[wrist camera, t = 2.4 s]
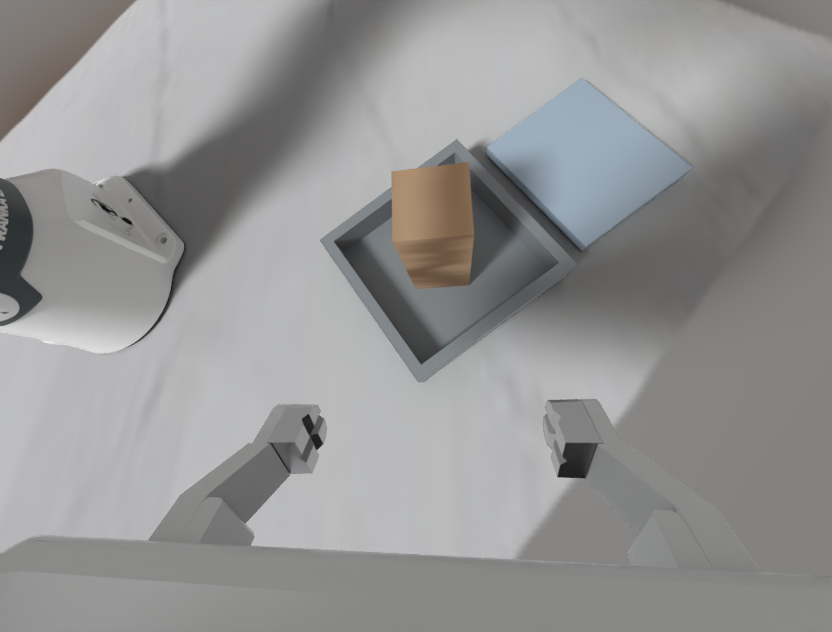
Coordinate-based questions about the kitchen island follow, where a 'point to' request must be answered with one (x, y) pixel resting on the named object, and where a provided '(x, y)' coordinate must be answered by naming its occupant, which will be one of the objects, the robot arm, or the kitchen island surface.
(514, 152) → the light blue flat slab
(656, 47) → the kitchen island surface
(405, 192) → the walnut block
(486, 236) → the parts bin
